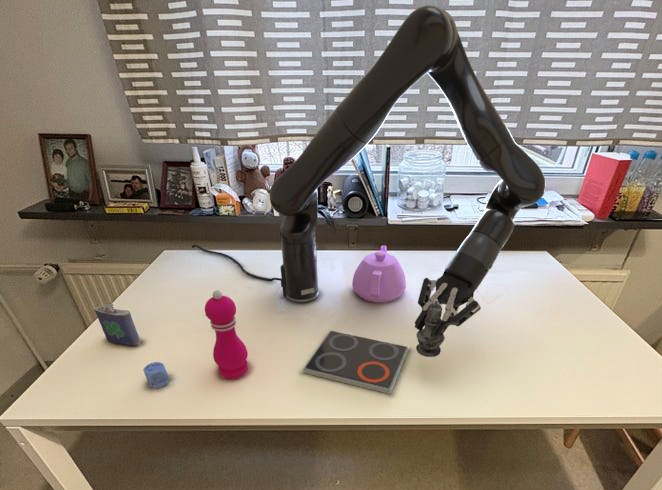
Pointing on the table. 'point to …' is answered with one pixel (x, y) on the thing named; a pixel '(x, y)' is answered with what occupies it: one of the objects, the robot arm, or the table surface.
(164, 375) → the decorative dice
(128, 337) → the flask
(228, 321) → the pepper mill
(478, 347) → the table surface
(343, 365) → the hob
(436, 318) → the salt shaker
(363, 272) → the teapot
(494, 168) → the robot arm
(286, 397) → the table surface
